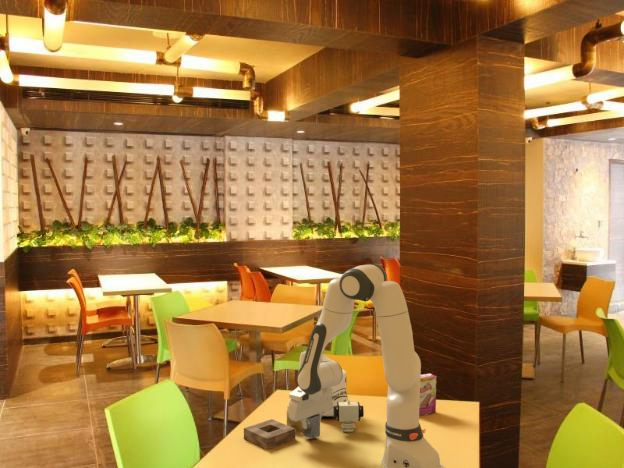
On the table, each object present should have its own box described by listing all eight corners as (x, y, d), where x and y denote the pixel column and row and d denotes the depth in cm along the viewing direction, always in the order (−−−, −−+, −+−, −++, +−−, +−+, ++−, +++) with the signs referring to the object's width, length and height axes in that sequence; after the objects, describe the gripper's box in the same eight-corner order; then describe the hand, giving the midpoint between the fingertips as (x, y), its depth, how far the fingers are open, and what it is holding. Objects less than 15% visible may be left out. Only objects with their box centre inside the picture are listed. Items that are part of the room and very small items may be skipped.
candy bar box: (414, 417, 253) (415, 379, 252) (408, 413, 257) (408, 375, 256) (436, 413, 257) (437, 375, 256) (429, 409, 262) (430, 372, 261)
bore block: (295, 438, 230) (295, 428, 229) (267, 449, 220) (267, 438, 220) (271, 428, 240) (271, 419, 239) (243, 438, 230) (243, 428, 230)
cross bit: (311, 428, 241) (311, 408, 240) (296, 433, 235) (296, 413, 234) (297, 422, 247) (297, 403, 246) (281, 427, 241) (281, 408, 241)
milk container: (346, 421, 247) (346, 378, 247) (304, 419, 251) (304, 376, 250) (350, 407, 264) (350, 367, 264) (312, 405, 268) (312, 365, 267)
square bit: (320, 435, 229) (319, 415, 229) (311, 439, 226) (311, 418, 226) (312, 432, 233) (311, 412, 232) (303, 435, 230) (303, 415, 229)
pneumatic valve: (363, 432, 236) (363, 402, 235) (333, 433, 235) (333, 403, 235) (362, 427, 241) (362, 398, 241) (333, 427, 241) (333, 398, 240)
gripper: (324, 383, 238) (325, 417, 239) (285, 394, 224) (286, 431, 225) (336, 386, 233) (336, 421, 234) (296, 398, 219) (297, 435, 220)
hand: (311, 426), depth 229 cm, fingers closed on square bit, 4 cm apart
